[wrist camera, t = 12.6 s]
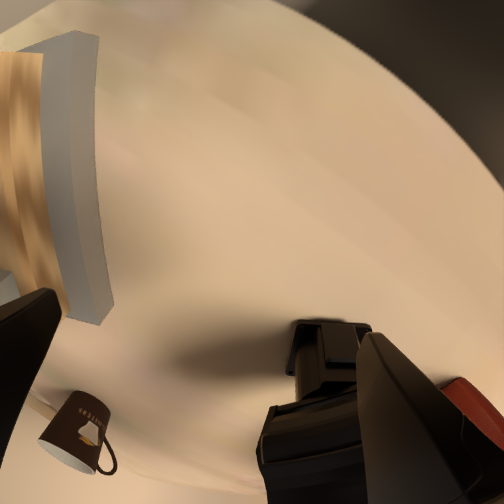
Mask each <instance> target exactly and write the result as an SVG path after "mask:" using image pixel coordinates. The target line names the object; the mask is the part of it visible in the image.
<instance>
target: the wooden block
mask: <svg viewBox="0 0 504 504" xmlns="http://www.w3.org/2000/svg"><path fill="white" fill-rule="evenodd" d="M42 61H43V53H28V52H0V269H4V270H7V271H11V272H13V275H14V279H15V282H16V285H17V288H18V291H19V294H20V296H24V295H26V294H28V293H31V292H33V291H35V290H38V289H40V288H42V287H47V288H51V289H54V290H55V291H56V293H57V296H58V300H59V303H60V306H61V309H62V318H61V320H60V323H61V322H62V320H63V319H64V318H65V317H66V315H67V314H68V313H69V312H70V310H71V308H70V305H69V302H68V298H67V295H66V291H65V288H64V284H63V280H62V277H61V273H60V269H59V265H58V260H57V256H56V252H55V247H54V242H53V237H52V232H51V227H50V221H49V215H48V209H47V202H46V194H45V186H44V177H43V167H42V154H41V134H40V93H41V74H42ZM60 323H59V324H60Z"/></svg>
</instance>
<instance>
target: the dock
mask: <svg viewBox="0 0 504 504" xmlns="http://www.w3.org/2000/svg"><path fill="white" fill-rule="evenodd" d="M98 43H99V36H95V35H92V34H88V33H84V32H80V31H71V32H68V33H65V34H62V35H59V36H56V37H53V38H50V39H47V40H44V41H42V42H39V43H36V44H34V45H31V46H29V47H26V48H24V49H22V50H19V51H17V52H28V53H43V61H42V74H41V93H40V134H41V154H42V167H43V177H44V186H45V194H46V202H47V209H48V215H49V221H50V227H51V232H52V237H53V242H54V247H55V252H56V256H57V260H58V265H59V269H60V273H61V277H62V280H63V284H64V288H65V291H66V295H67V298H68V302H69V305H70V308H71V310H70V312H69V313H68V314H67V315H66V317H68V318H71V319H75V320H79V321H83V322H87V323H91V324H95V325H99V326H100V324H101V323H102V321H103V320H104V319H105V317H106V316H107V314H108V313H109V311H110V310H111V308H112V307H113V306H114V301H113V297H112V292H111V287H110V282H109V276H108V271H107V265H106V259H105V253H104V246H103V239H102V232H101V224H100V216H99V207H98V196H97V184H96V169H95V146H94V100H95V78H96V63H97V52H98Z"/></svg>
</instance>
